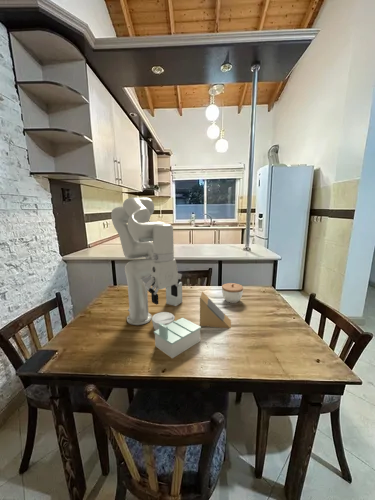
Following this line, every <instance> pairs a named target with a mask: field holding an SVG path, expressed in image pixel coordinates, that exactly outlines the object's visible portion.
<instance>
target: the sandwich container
mask: <svg viewBox="0 0 375 500" xmlns="http://www.w3.org/2000/svg"><path fill="white" fill-rule="evenodd" d="M199 326H200V327H211V328H221V329H231V328H232V320H231V319H230V318H229V316H227V315H226V313H224V312H223V311H222V310H221V308H219V306H217V305H216V304H215V303H214V302H213V301H212V300H211V299H210V298H209V296H207V294H206V293H205V292H204V291H201V294H200V296H199Z"/></svg>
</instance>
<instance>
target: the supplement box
mask: <svg viewBox="0 0 375 500" xmlns="http://www.w3.org/2000/svg"><path fill="white" fill-rule="evenodd" d="M177 292H178V296H177V297H175V296H173V295H171V286H169V287H167V288H165V300H166V301H165V303H166V304H167V305H170V306H174V307H177V306H178V305H180V304H181V303H183V281H180V283H179V286H178V287H177Z"/></svg>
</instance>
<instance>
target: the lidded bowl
mask: <svg viewBox="0 0 375 500" xmlns="http://www.w3.org/2000/svg"><path fill="white" fill-rule="evenodd" d="M243 290H244V287H243V285H242V284H239V283H233V282H229V283H224V284H222V285H221V292H222V296H223V299H224V300H225V301H226V302H227V303H229V302H230V304H236V303H239V301H240V300H241V299H242V297H243V293H244V291H243Z"/></svg>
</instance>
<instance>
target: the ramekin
mask: <svg viewBox="0 0 375 500" xmlns="http://www.w3.org/2000/svg"><path fill="white" fill-rule="evenodd" d="M173 321H176V320H175V315H174V314H173V313H171V312H168V311H161V312H157V313H155V314H153V315H152V319H151V322H152V327H153V329H154V331H156V330H158V329H159V324H160V323H162V324H164V325H168V324H170V323H172V322H173Z"/></svg>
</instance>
